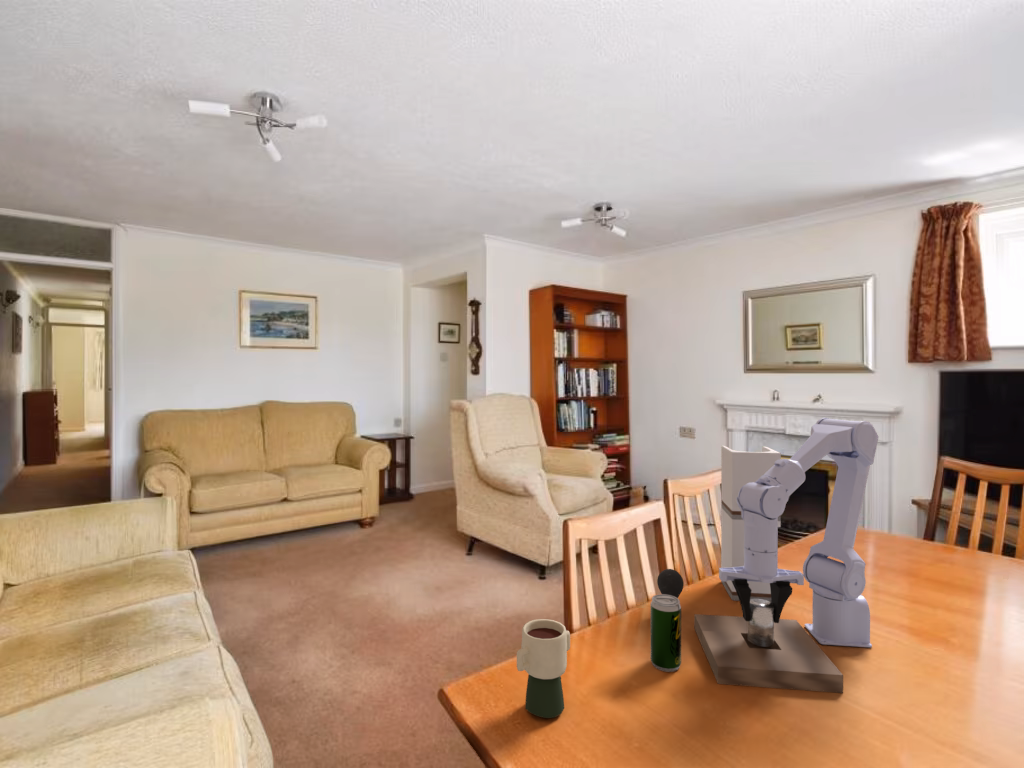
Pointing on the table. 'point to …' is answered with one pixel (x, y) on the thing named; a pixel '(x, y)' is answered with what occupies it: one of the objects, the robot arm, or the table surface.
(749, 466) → the tall white column
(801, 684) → the housing block
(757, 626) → the shiny metal cylinder
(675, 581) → the light bulb
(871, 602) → the table surface
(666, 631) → the green drink can
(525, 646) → the character mug
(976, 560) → the table surface
